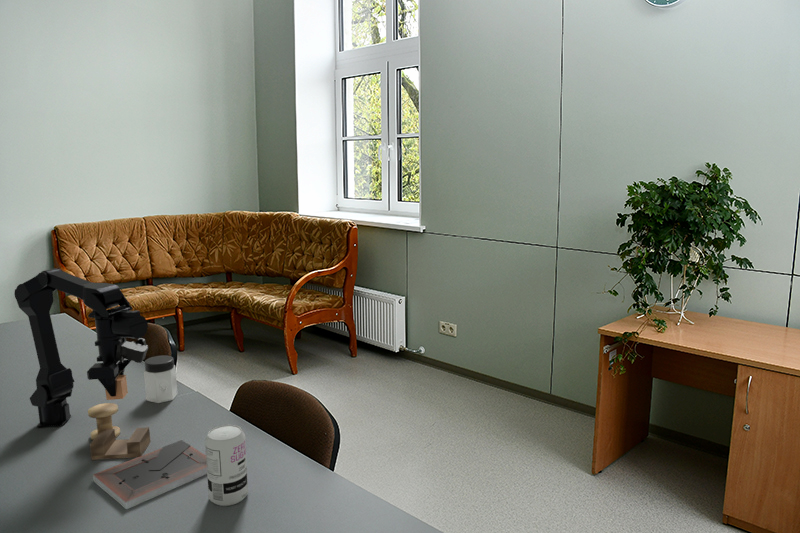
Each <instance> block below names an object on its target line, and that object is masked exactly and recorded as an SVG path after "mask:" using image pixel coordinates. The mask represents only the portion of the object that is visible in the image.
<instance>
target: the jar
mask: <svg viewBox="0 0 800 533" xmlns="http://www.w3.org/2000/svg"><path fill="white" fill-rule="evenodd" d="M143 376H144V386H145V398H146V401H147V402H152V403H154V404H160V403H161V404H162V403H165V402H169V401H174V399H175V397H176V396H177V395H178V386H177V385H178V383H177V382H178V380H177V371H176V365H175V361H174V357H173V356H171V355H155V356H151V357H148V358H147V359H144V370H143Z"/></svg>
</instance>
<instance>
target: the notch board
mask: <svg viewBox="0 0 800 533" xmlns="http://www.w3.org/2000/svg"><path fill="white" fill-rule="evenodd" d="M91 441H92V442H91V443H90V444H89V449H90V456H91V457H90V458H91V461H95V460H97V461H98V460H111V459H112V460H113V459H135V458H137V457H140V456H143V455H144V453H145V451H146V449H147V448H148V446H149V445H150V443H151V432H150V427H149V426H146V427H145V426H144V427H136V429H135V430H134V432H133V433H132V434H131V436H130V437H129V438H128V439H125V438H124V439H116V438H115V429H104V430H101V432H100V433H99V434H98V435H97V436H96V438H95V439H94V440H91Z"/></svg>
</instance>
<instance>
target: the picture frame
mask: <svg viewBox="0 0 800 533" xmlns="http://www.w3.org/2000/svg"><path fill="white" fill-rule="evenodd" d="M206 475H207V463H206V454H205V453H203V452H201V451H199V449H196V448H194V447H193V446H191V444H189V443H187V442H186V441H184V440H182V439H181V440H177V441H176V442H172V443H169V444H167V445H165V446H162V447H161V448H159V449H155V450H154V451H151V452H147V453H146V454H143V455H142V456H140V457H134V458H131V459H130V460H128V461H125V462H122V463H119V464H116V465H114V466H112V467H109V468H106V469H104V470H101V471H99V472H96V473H94V474H93V475H92V477H93V482H94V483H95V484H96V485H97V486H99V487H100V488H101V489H102V490H103V491H104V492H105V493H107V494H108V495H109V496H110V497H111V498H113V499H114V500H115V501H116V502H117V503H118V504H120V505H121V506H122V507H123V508H124V509H125V510H129V509H131V508H134V507H135V506H137V505H140V504H142V503H145V502H146V501H148V500H151V499H153V498H155V497H158V496H160V495H163V494H164V493H167V492H170V491H172V490H173V489H175V488H178V487H181V486H183V485H185V484H187V483H190V482H192V481H193V480H194V481H195V480H196V479H198V478H200V477H201V478H202V477H203V476H206Z"/></svg>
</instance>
